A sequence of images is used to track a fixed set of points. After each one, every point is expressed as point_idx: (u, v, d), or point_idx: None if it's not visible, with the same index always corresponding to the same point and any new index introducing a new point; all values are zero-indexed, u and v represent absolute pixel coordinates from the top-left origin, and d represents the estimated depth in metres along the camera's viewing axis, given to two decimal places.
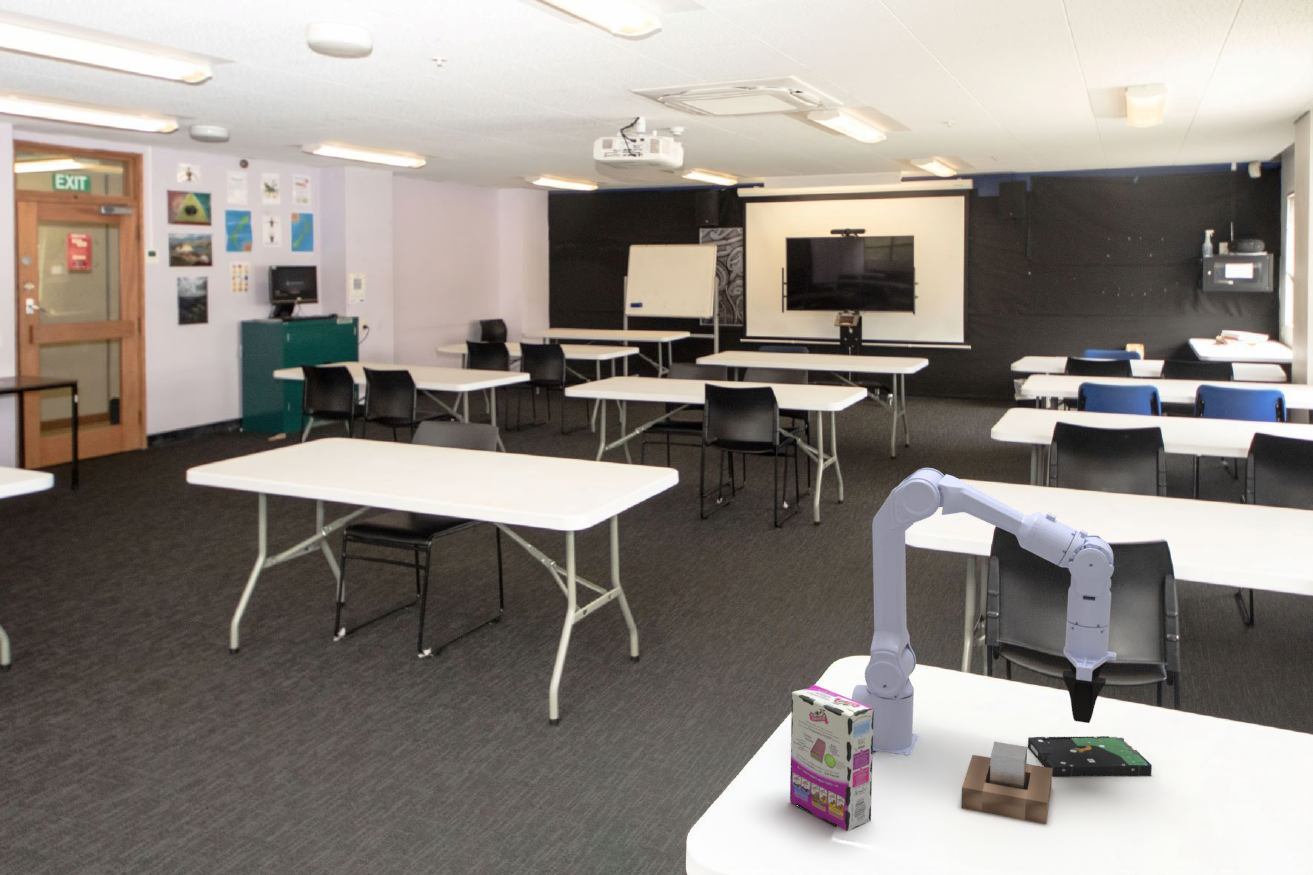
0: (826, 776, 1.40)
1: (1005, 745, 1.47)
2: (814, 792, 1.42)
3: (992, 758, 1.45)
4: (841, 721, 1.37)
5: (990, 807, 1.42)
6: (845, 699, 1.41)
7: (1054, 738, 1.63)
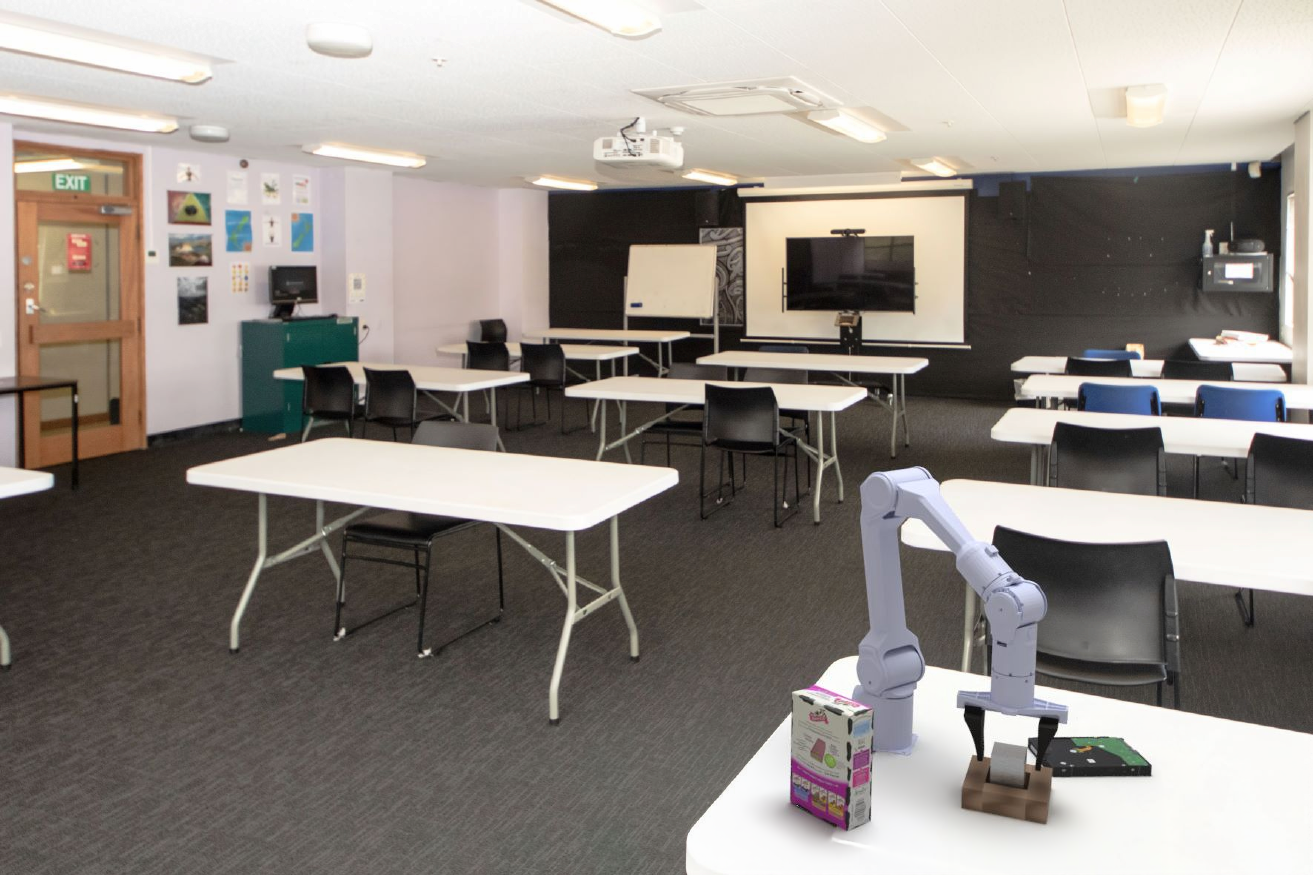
0: (826, 776, 1.40)
1: (1005, 745, 1.47)
2: (814, 792, 1.42)
3: (992, 758, 1.45)
4: (841, 721, 1.37)
5: (990, 807, 1.42)
6: (845, 699, 1.41)
7: (1054, 738, 1.63)
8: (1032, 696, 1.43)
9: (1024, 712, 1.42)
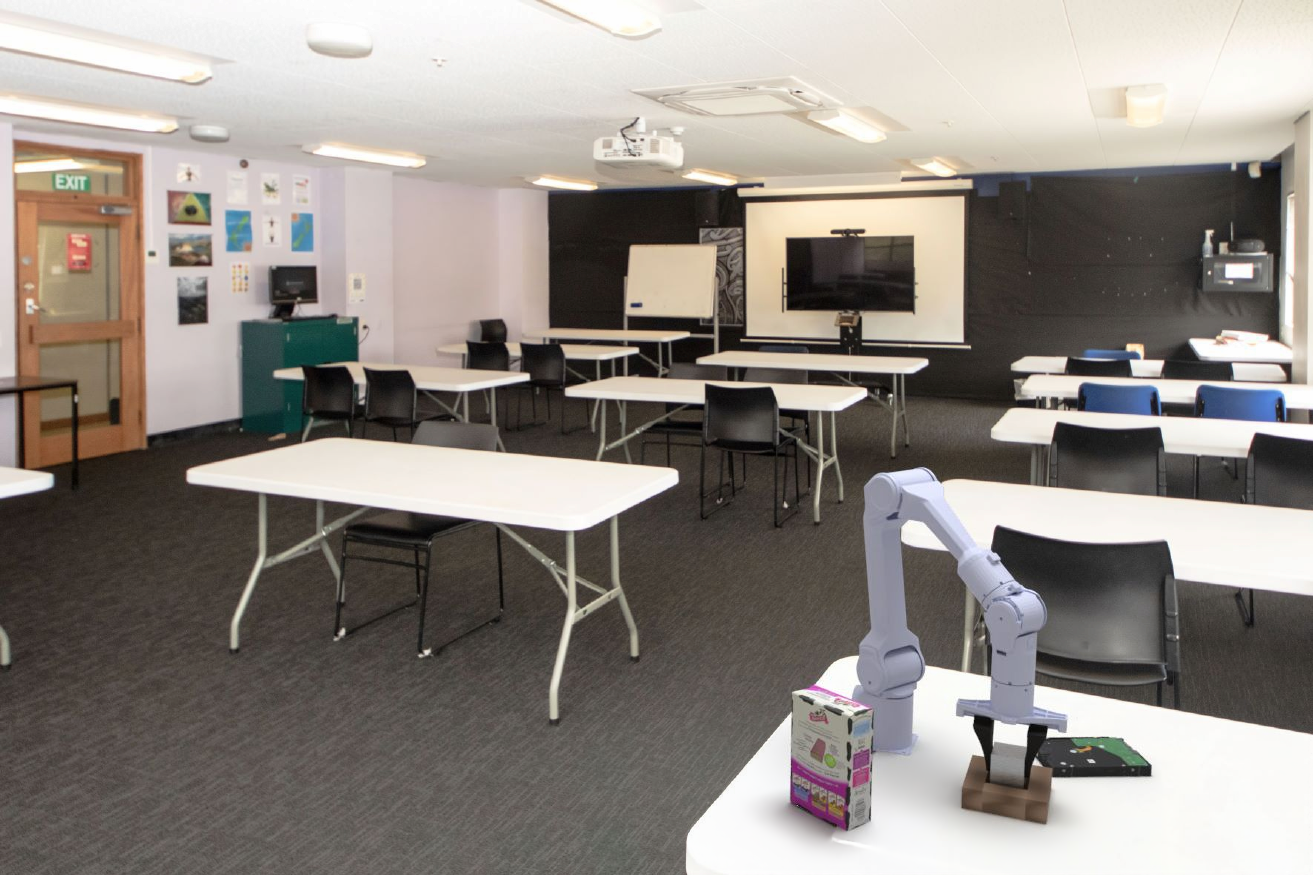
0: (826, 776, 1.40)
1: (1005, 745, 1.47)
2: (814, 792, 1.42)
3: (992, 758, 1.45)
4: (841, 721, 1.37)
5: (990, 807, 1.42)
6: (845, 699, 1.41)
7: (1054, 738, 1.63)
8: (1031, 705, 1.43)
9: (1023, 721, 1.42)
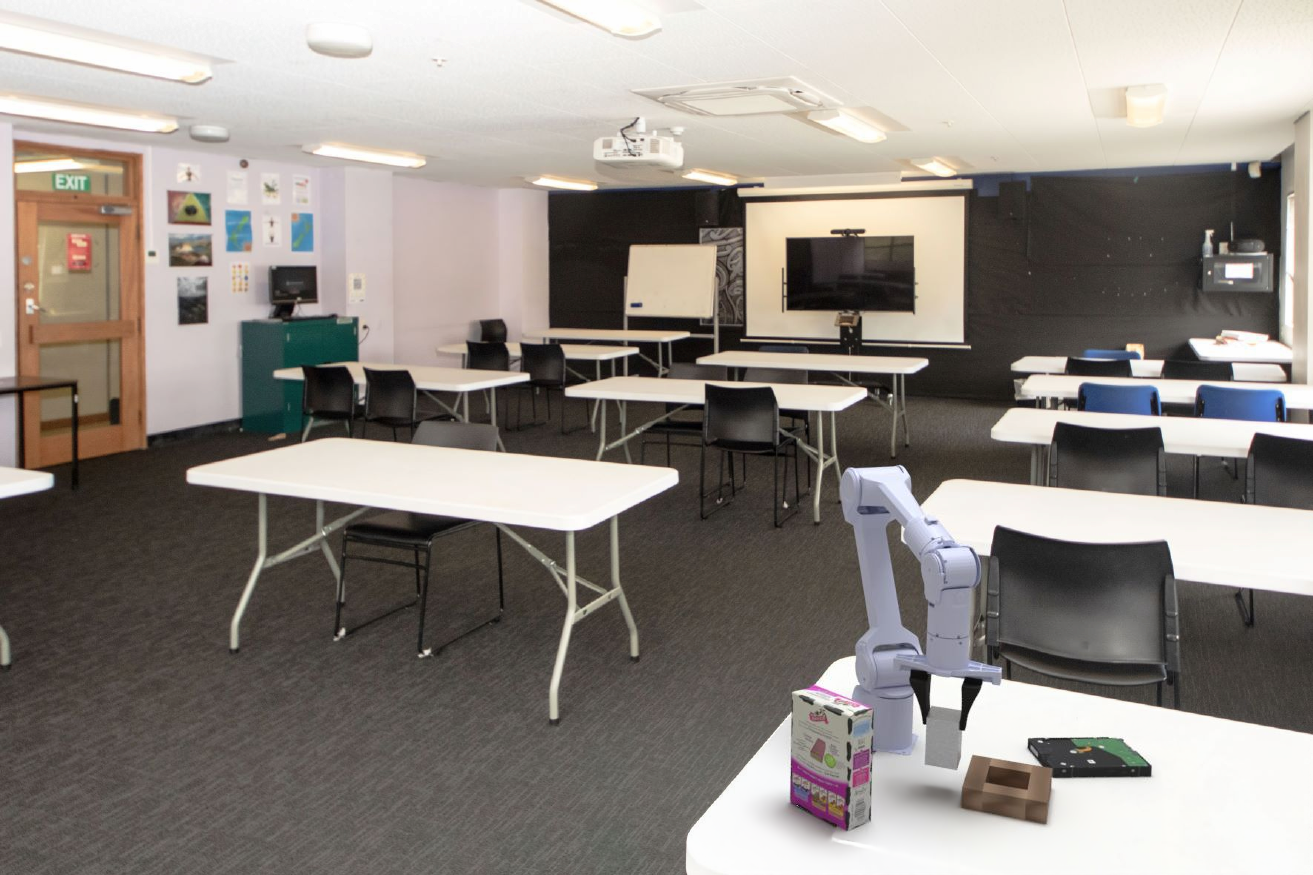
0: (826, 776, 1.40)
1: (941, 709, 1.49)
2: (814, 792, 1.42)
3: (928, 721, 1.46)
4: (841, 721, 1.37)
5: (990, 807, 1.42)
6: (845, 699, 1.41)
7: (1054, 739, 1.62)
8: (966, 658, 1.44)
9: (958, 674, 1.43)
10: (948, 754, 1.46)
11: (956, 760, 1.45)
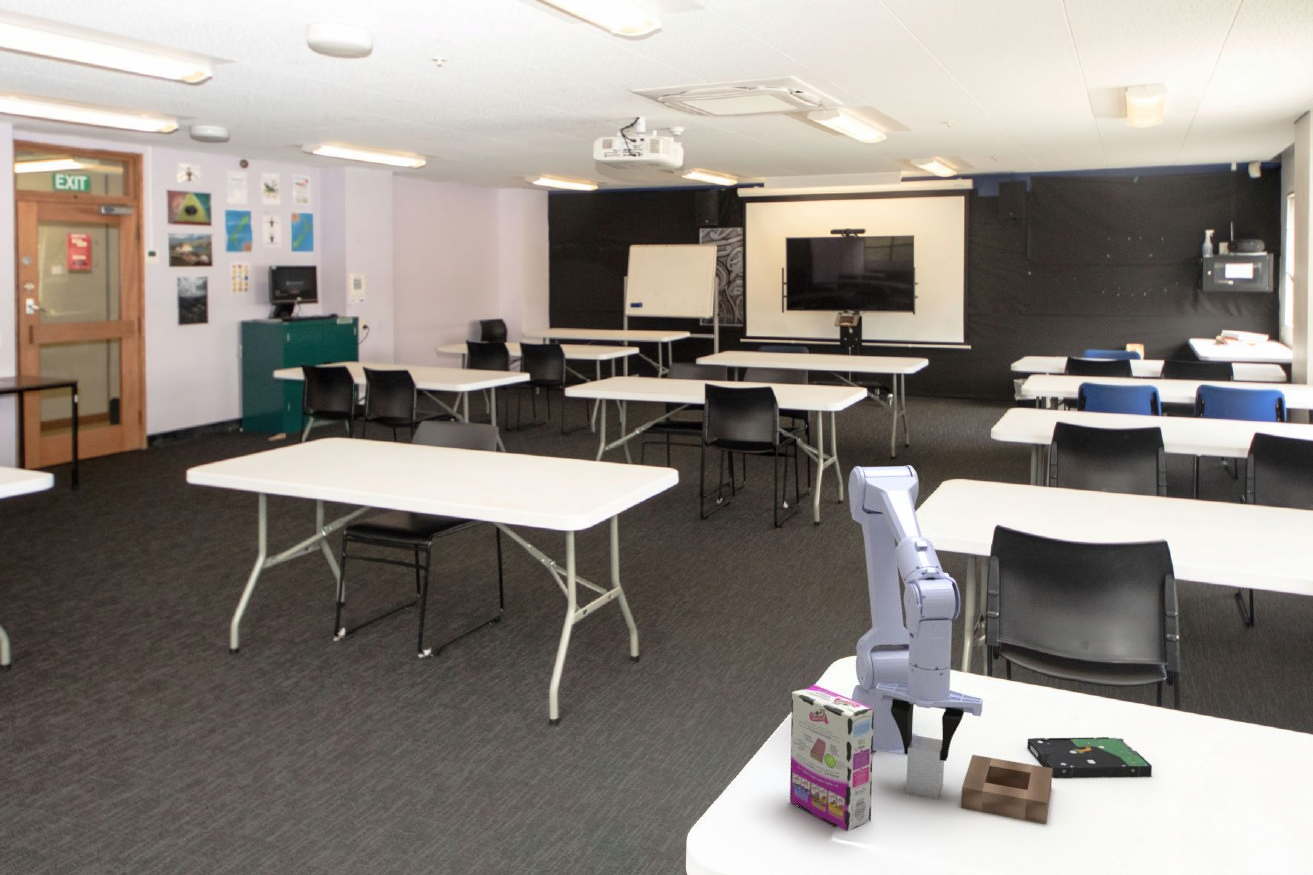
0: (826, 776, 1.40)
1: (923, 738, 1.50)
2: (814, 792, 1.42)
3: (909, 751, 1.47)
4: (841, 721, 1.37)
5: (990, 807, 1.42)
6: (845, 699, 1.41)
7: (1054, 739, 1.62)
8: (947, 689, 1.45)
9: (938, 704, 1.44)
10: (929, 784, 1.47)
11: (937, 790, 1.46)
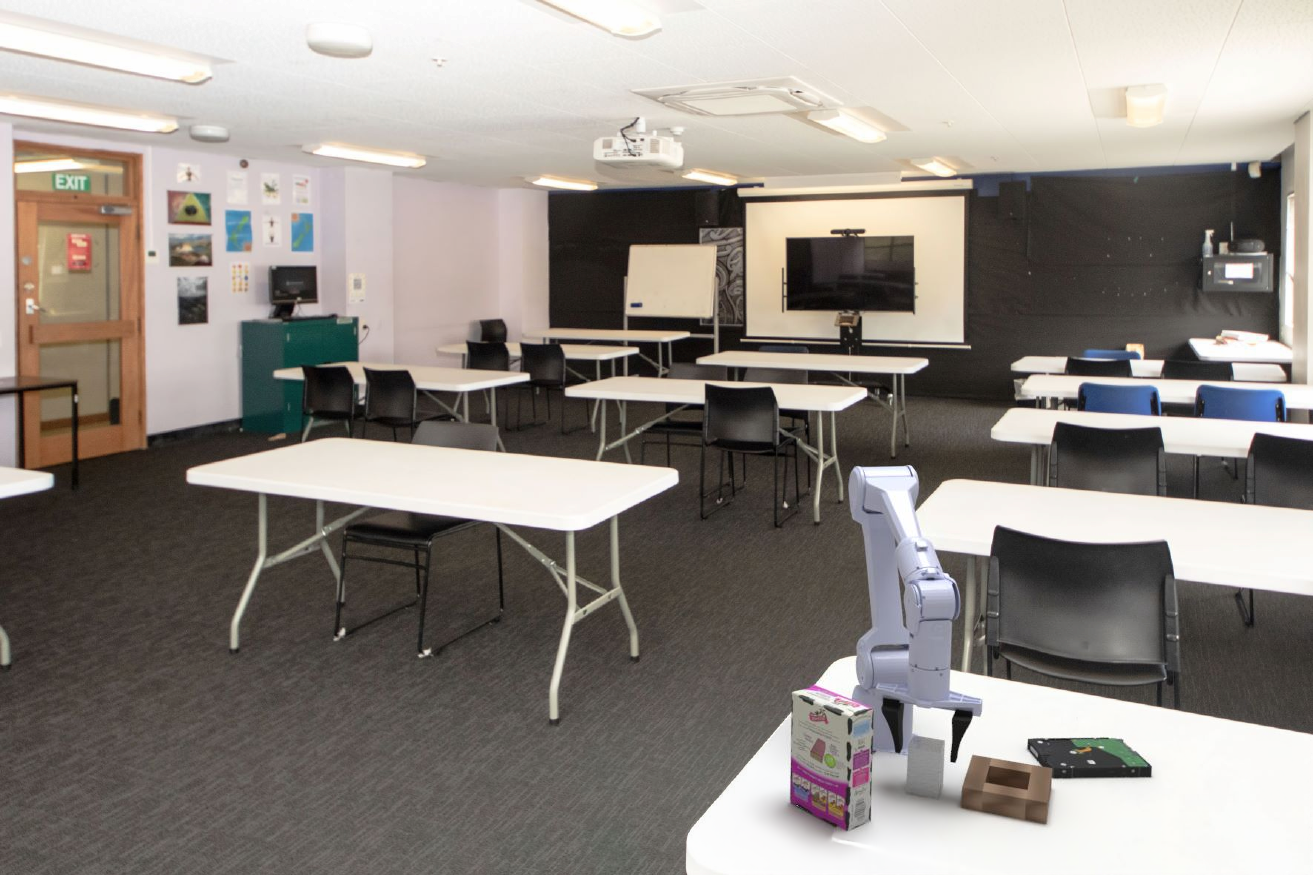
0: (826, 776, 1.40)
1: (923, 738, 1.50)
2: (814, 792, 1.42)
3: (909, 751, 1.47)
4: (841, 721, 1.37)
5: (990, 807, 1.42)
6: (845, 699, 1.41)
7: (1054, 739, 1.62)
8: (947, 689, 1.45)
9: (938, 705, 1.44)
10: (929, 784, 1.47)
11: (937, 790, 1.46)
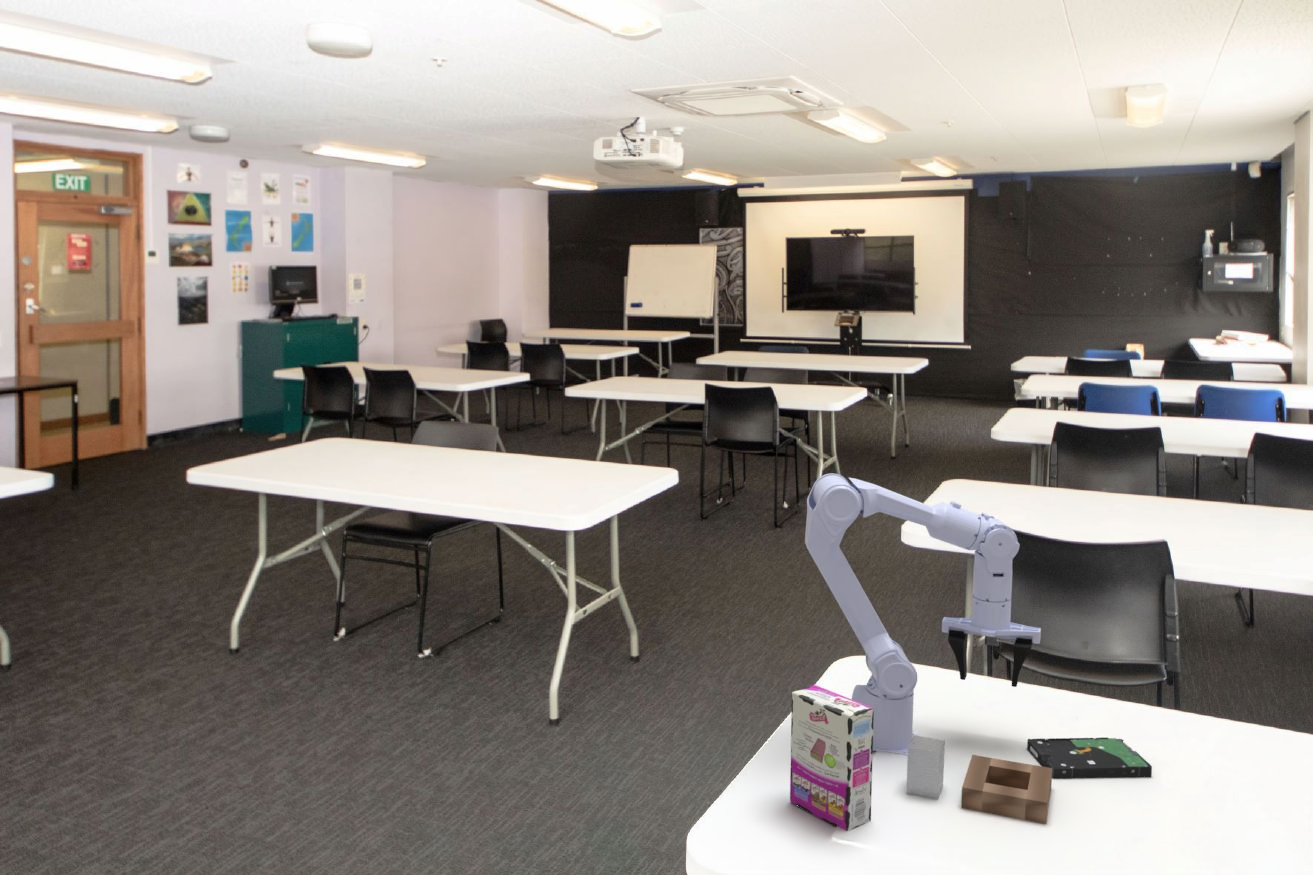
0: (826, 776, 1.40)
1: (923, 738, 1.50)
2: (814, 792, 1.42)
3: (909, 751, 1.47)
4: (841, 721, 1.37)
5: (990, 807, 1.42)
6: (845, 699, 1.41)
7: (1053, 740, 1.62)
8: (1008, 620, 1.60)
9: (1001, 633, 1.59)
10: (929, 784, 1.47)
11: (937, 790, 1.46)
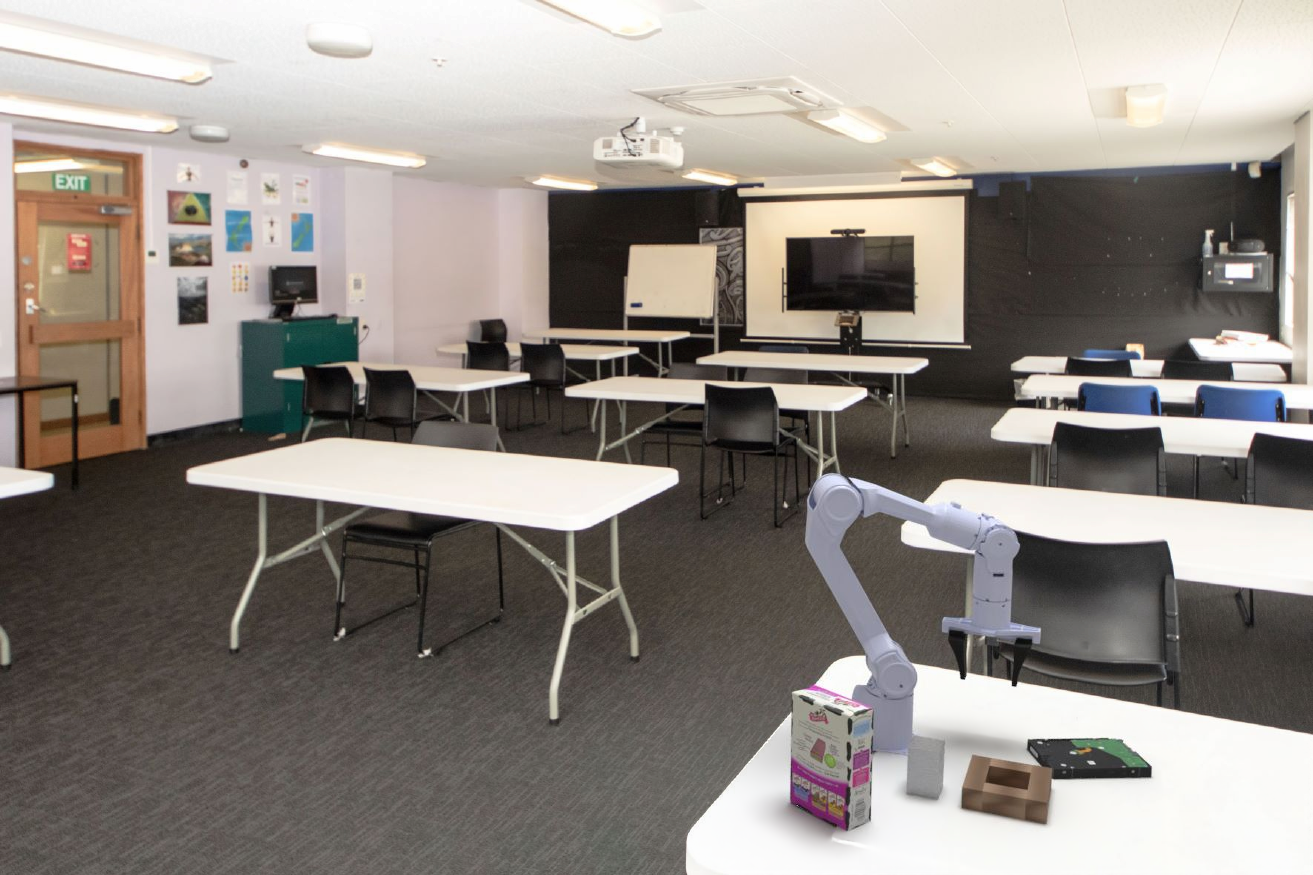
0: (826, 776, 1.40)
1: (923, 738, 1.50)
2: (814, 792, 1.42)
3: (909, 751, 1.47)
4: (841, 721, 1.37)
5: (990, 807, 1.42)
6: (845, 699, 1.41)
7: (1053, 740, 1.62)
8: (1009, 620, 1.60)
9: (1001, 633, 1.59)
10: (929, 784, 1.47)
11: (937, 790, 1.46)
